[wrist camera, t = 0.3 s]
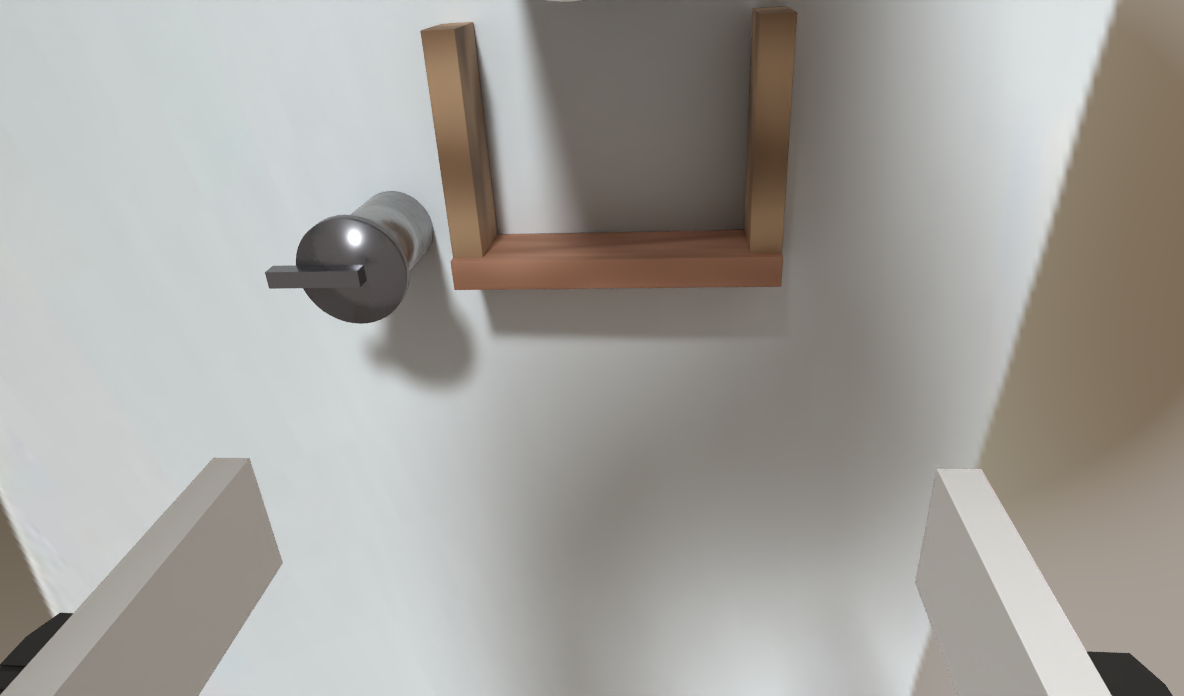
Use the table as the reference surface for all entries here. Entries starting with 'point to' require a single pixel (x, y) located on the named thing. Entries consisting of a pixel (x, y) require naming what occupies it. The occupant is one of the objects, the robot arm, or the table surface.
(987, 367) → the table surface
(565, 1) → the supplement tub
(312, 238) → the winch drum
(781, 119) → the bay
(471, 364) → the table surface
